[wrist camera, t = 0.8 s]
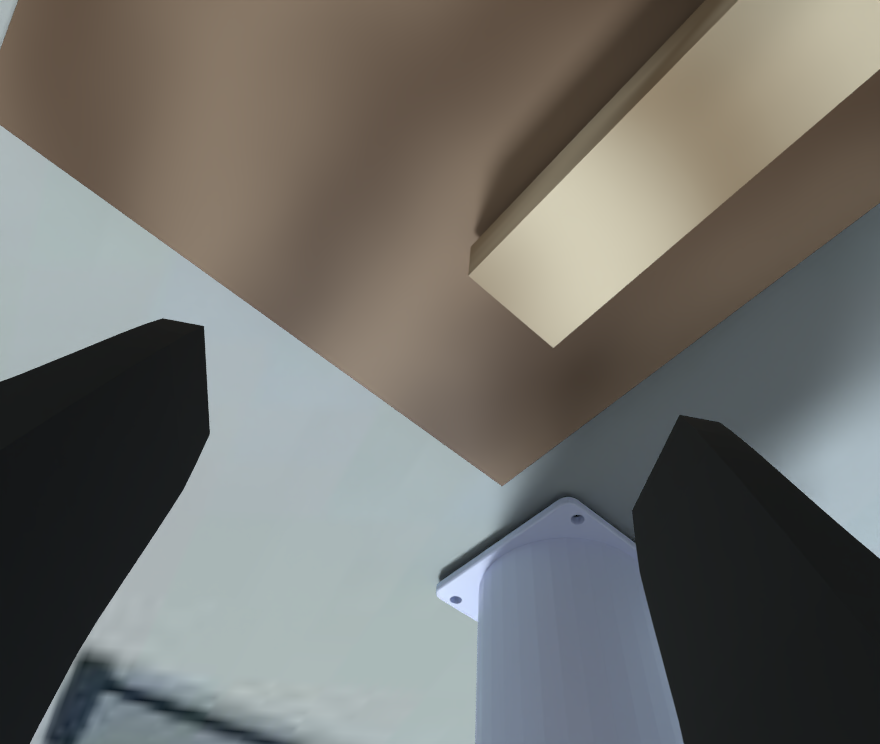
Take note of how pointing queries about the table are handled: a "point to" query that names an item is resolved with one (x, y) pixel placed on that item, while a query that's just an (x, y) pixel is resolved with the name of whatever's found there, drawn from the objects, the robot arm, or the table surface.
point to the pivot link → (672, 151)
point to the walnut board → (407, 183)
